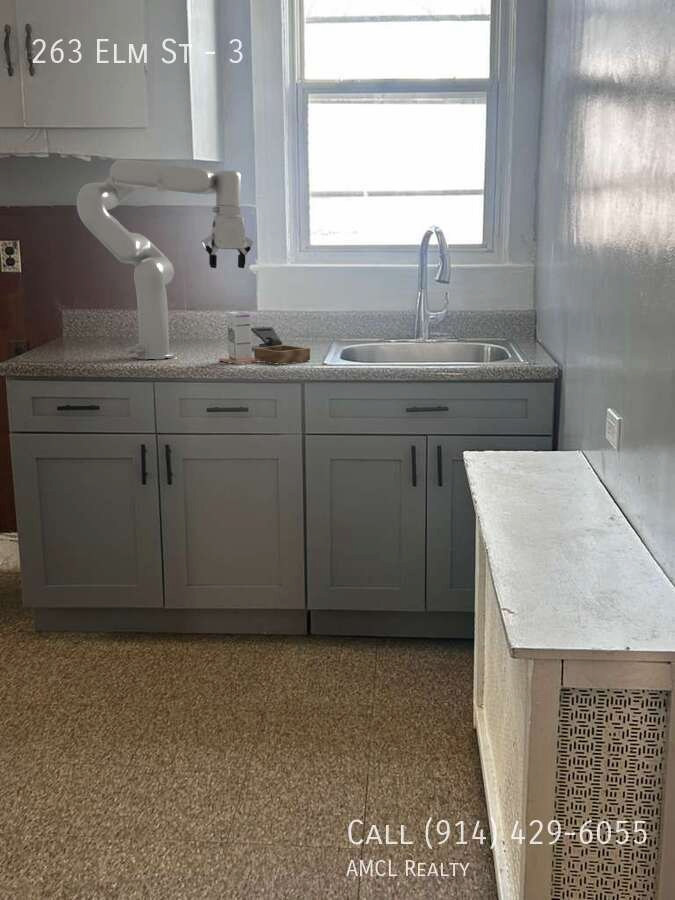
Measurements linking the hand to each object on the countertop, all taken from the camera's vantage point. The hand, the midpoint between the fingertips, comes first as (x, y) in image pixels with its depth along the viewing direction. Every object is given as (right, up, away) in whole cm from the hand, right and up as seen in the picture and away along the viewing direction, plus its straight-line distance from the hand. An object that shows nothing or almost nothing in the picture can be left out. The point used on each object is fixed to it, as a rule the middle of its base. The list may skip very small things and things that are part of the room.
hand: (227, 267), depth 329 cm
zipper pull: (+11, -24, +27) cm, 38 cm away
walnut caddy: (+17, -29, +2) cm, 34 cm away
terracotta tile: (+4, -29, +1) cm, 30 cm away
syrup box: (+4, -29, 0) cm, 29 cm away
